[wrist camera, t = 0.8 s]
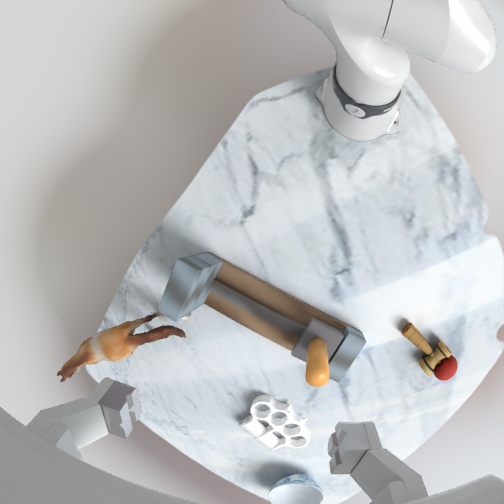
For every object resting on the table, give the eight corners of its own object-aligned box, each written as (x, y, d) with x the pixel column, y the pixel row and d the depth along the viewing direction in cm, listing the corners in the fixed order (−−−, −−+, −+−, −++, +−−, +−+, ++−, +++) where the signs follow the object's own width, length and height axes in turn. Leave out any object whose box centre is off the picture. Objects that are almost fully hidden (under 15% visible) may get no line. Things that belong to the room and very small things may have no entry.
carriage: (311, 316, 52) (310, 346, 38) (342, 332, 51) (351, 365, 37) (292, 349, 54) (284, 386, 40) (322, 364, 53) (322, 403, 38)
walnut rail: (207, 251, 59) (175, 257, 45) (361, 331, 54) (375, 362, 39) (187, 295, 61) (153, 312, 47) (334, 372, 55) (338, 411, 41)
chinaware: (334, 480, 57) (334, 499, 50) (294, 497, 60) (291, 514, 53) (302, 458, 59) (300, 477, 51) (261, 476, 62) (256, 494, 54)
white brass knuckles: (231, 411, 62) (275, 383, 59) (279, 451, 60) (323, 427, 57) (227, 419, 59) (273, 391, 56) (277, 459, 57) (323, 435, 54)
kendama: (389, 341, 54) (435, 384, 49) (397, 345, 48) (446, 392, 43) (411, 313, 54) (456, 358, 49) (421, 315, 48) (468, 363, 43)
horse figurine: (108, 354, 68) (58, 382, 48) (97, 329, 68) (44, 352, 48) (196, 328, 61) (149, 367, 41) (183, 297, 61) (129, 324, 41)
